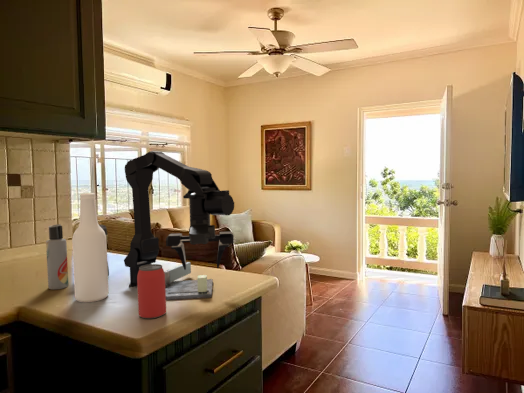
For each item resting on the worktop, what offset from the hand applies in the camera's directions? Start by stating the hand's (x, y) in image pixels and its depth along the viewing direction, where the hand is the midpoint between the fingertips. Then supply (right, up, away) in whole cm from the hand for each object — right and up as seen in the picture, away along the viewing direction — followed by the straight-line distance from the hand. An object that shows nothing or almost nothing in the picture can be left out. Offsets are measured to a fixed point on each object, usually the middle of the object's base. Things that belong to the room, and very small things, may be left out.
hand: (201, 268), depth 108 cm
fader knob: (0, -6, 0) cm, 6 cm away
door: (-10, -6, +15) cm, 19 cm away
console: (-5, -8, +5) cm, 10 cm away
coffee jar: (-41, -8, +22) cm, 47 cm away
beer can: (-10, -9, -15) cm, 20 cm away
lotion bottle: (-48, -9, +12) cm, 50 cm away
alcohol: (-31, -9, 0) cm, 33 cm away
